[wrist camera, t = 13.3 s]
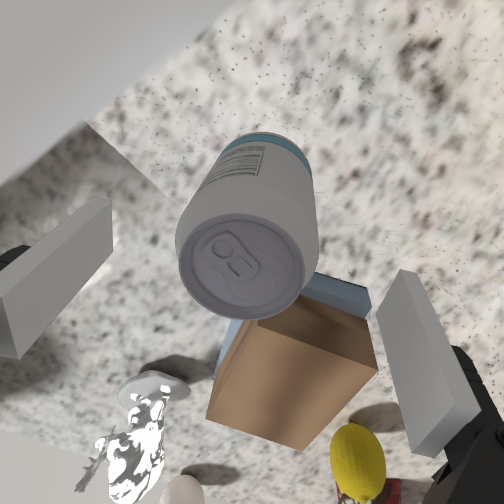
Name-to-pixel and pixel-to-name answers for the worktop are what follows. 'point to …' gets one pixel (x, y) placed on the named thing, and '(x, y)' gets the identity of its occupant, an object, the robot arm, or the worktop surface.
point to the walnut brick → (292, 372)
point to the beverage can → (250, 230)
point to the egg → (183, 491)
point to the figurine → (137, 437)
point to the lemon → (358, 462)
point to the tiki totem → (386, 500)
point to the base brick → (323, 291)
